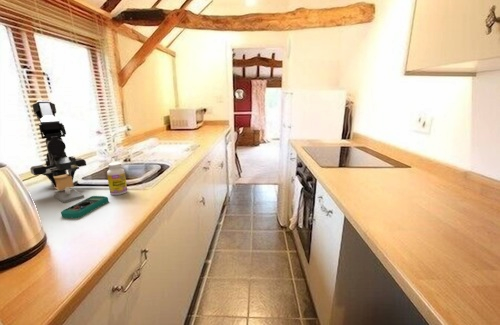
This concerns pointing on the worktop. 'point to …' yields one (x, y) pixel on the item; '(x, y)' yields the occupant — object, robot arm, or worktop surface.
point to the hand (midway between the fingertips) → (63, 185)
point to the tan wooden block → (63, 181)
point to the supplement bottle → (116, 179)
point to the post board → (68, 195)
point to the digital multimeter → (84, 207)
